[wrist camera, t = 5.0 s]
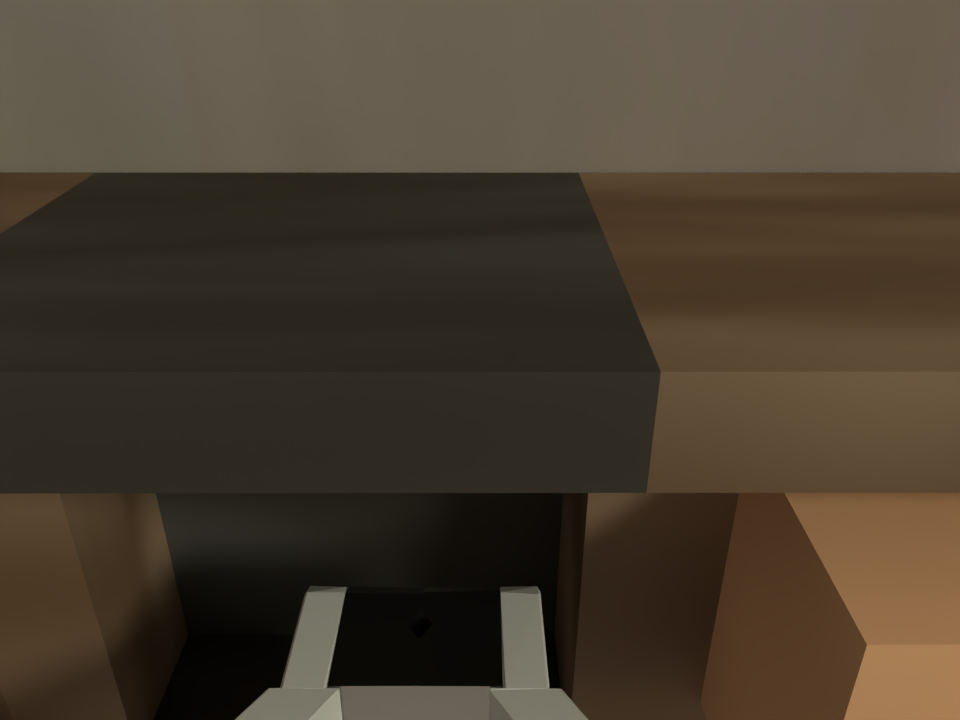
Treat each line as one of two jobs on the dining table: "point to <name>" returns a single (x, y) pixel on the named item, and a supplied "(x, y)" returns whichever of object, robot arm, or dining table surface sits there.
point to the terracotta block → (838, 609)
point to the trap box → (439, 408)
